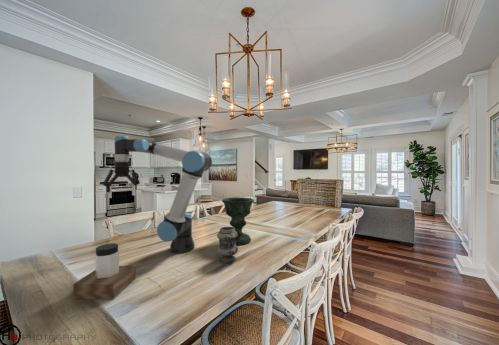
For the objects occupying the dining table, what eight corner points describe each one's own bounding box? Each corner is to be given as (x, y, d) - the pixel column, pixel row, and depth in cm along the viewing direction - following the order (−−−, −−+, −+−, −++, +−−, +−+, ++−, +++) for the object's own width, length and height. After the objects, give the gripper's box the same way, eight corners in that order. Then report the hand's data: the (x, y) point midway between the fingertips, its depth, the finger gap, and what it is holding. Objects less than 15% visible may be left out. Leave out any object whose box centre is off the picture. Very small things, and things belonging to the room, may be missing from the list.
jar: (91, 279, 88) (90, 250, 88) (99, 270, 96) (99, 244, 96) (115, 277, 90) (115, 249, 90) (122, 268, 98) (121, 242, 98)
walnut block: (135, 278, 101) (135, 265, 101) (113, 299, 85) (113, 284, 85) (101, 278, 101) (101, 265, 101) (73, 299, 85) (73, 284, 85)
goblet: (257, 245, 146) (257, 201, 145) (224, 248, 140) (224, 202, 140) (249, 235, 167) (249, 196, 166) (220, 237, 162) (220, 197, 161)
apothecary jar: (224, 253, 131) (224, 224, 130) (241, 257, 125) (241, 226, 125) (212, 261, 120) (212, 229, 120) (231, 265, 115) (231, 232, 114)
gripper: (139, 162, 142) (139, 194, 143) (95, 161, 122) (96, 198, 123) (145, 162, 138) (145, 194, 138) (101, 160, 118) (101, 199, 118)
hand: (122, 196), depth 131 cm, fingers open, 13 cm apart
